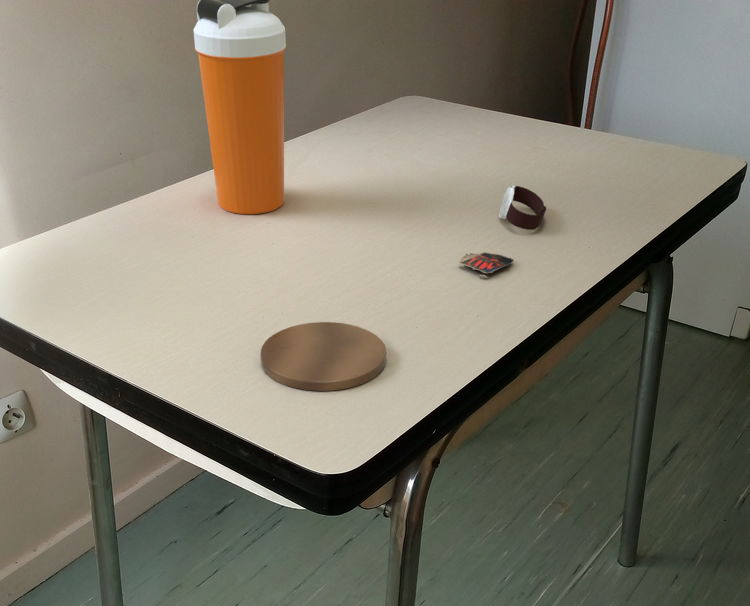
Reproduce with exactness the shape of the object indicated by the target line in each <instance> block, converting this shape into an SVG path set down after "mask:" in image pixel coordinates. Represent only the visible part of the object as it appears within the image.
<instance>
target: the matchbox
mask: <svg viewBox="0 0 750 606" xmlns="http://www.w3.org/2000/svg"><path fill="white" fill-rule="evenodd" d="M514 260H515V258H514V259H513V258H512V257H508V256H506V255H502V254H499V253H491V252H485V251H483V252H479V253H474V252H473V253H472V252H470V253H469V254H468V253H466V254H464V255H463V256H462V257H461V258H460V260H459V261H458V264H460V265H463V266H466V267H469V268H471V269H472V270H477V271H479V272H481V273H483V274H480V273H478V274H477V275H478V276H479V277H480V278H484V279H488V276H487V275H485V274H492V273H494V272H495V271H498V270H499V269H501V271H504V269H503V268H504V267H507V266H509V265H511V263H513V262H514Z"/></svg>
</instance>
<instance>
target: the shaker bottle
mask: <svg viewBox="0 0 750 606" xmlns="http://www.w3.org/2000/svg"><path fill="white" fill-rule="evenodd" d="M269 3H270V0H198V2H197V5H196V16H197V22H196V23H195V26H194V28H193V40H194V51H195V52H196V53H197V56H198V65H199V71H200V80H201V85H202V94H203V102H204V109H205V116H206V123H207V130H208V138H209V145H210V153H211V160H212V166H213V174H214V182H215V190H216V196H217V197H216V198H217V204H218V206H219V208H221V209H222V210H223V211H226V212H229V213H232V214H238V215H259V214H265V213H269V212H273V211H276V210H278V209H279V208H281V207H282V206H283V205H284V202H285V51H286V48H287V40H286V39H287V38H286V37H287V36H286V27H285V25H284V24H283V23H282V21H281V20H280V18H279V17H278V16H276V15H275V14H273V13H272V12H270V9H269V8H270V7H269Z"/></svg>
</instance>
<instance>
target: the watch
mask: <svg viewBox="0 0 750 606" xmlns="http://www.w3.org/2000/svg"><path fill="white" fill-rule="evenodd" d="M513 202H517V203H520V204H523V205H524V206H527V208H529V209H531V210H532V211H533V212H534V213H535V214H529V213H526V212H523V211H521V210H519V209H517V207H515V206H514V205H513ZM546 211H547V205H545V203H544V201H543V199H542V198H541V197H540V196H539V195H538V194H537V193H535V192H534V191H532V190H530V189H528V188H526V187H523V186H519V185H511V186H508V187H507V189H506V191H505V193H504V195H503V197H502V201H501V204H500V208H499V215H498V216H499V218H500V219H502V220H507V221H508V222H509V223H510V224H511V225H513V226H515V227H517V228H520V229H523V230H527V231H529V230H530V231H532V230H537V229H538V228H539V227H540V225H541V224H542V221H543V219H544V217H545V214H546Z"/></svg>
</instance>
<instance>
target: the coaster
mask: <svg viewBox="0 0 750 606" xmlns="http://www.w3.org/2000/svg"><path fill="white" fill-rule="evenodd" d="M260 364H261V367H262V369H263V371H264V372H265V373H266V375H267V376H269V378H271V379H272V380H274V381H276V382H278V383H280V384H282V385H284V386H286V387H291V388H294V389H299V390H302V391H303V390H304V391H312V392H313V391H314V392H315V391H316V392H328V391H339V390H346V389H350V388H354V387H358V386H361V385H363V384H365V383H367V382H369V381H371V380H373V379H374V378H376V377H377V376H378V375H379V374H380V373H381V372H382V371H384V368H385V366H386V364H387V348H386V345H385V342H383V340H382V339H381V338H380V337H379V336H378V335H376V334H375V333H374V332H371V331H370V330H367V329H365V328H363V327H360V326H357V325H353V324H350V323H349V324H348V323H344V322H343V323H342V322H335V321H334V322H332V321H317V322H307V323H301V324H297V325H291V326H289V327H286V328H284V329H282V330H281V329H280V331H278V332H275V333H274V334H272V335H271V336H269V337H268V338H267V339H266V340H265V341H264V343H263V344H262V346H261V349H260Z"/></svg>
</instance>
